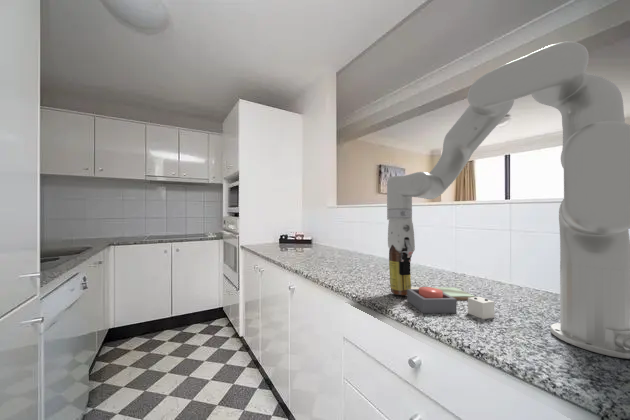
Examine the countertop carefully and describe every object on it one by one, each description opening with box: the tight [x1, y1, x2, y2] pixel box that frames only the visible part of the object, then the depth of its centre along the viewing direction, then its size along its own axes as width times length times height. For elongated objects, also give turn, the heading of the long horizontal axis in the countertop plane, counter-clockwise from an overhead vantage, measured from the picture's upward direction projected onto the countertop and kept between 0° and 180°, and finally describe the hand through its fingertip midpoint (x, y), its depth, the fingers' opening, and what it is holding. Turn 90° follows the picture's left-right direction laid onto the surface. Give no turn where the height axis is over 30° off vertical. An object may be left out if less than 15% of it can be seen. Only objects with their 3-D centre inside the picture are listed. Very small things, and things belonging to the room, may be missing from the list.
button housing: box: [406, 289, 458, 314], centre depth 68 cm, size 9×9×4 cm
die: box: [467, 296, 495, 320], centre depth 62 cm, size 4×4×4 cm
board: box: [411, 286, 477, 301], centre depth 78 cm, size 10×18×1 cm, turn 95°
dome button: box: [419, 286, 443, 298], centre depth 68 cm, size 6×6×3 cm
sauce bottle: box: [388, 245, 412, 297], centre depth 77 cm, size 7×6×20 cm
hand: (399, 271), depth 77 cm, fingers closed on sauce bottle, 6 cm apart
